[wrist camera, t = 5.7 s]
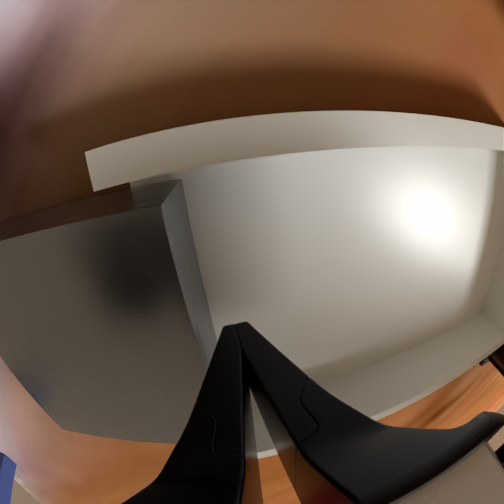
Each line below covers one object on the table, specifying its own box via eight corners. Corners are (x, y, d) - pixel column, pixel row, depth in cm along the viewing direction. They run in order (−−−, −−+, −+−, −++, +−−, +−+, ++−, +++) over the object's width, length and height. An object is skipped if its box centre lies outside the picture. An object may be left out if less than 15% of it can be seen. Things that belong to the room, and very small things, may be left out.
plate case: (474, 310, 16) (507, 341, 13) (208, 402, 14) (217, 465, 10) (507, 128, 10) (559, 143, 7) (128, 138, 8) (84, 151, 4)
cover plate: (233, 397, 12) (234, 442, 10) (75, 394, 12) (62, 428, 10) (181, 178, 8) (160, 206, 6) (-16, 228, 8) (-53, 257, 6)
